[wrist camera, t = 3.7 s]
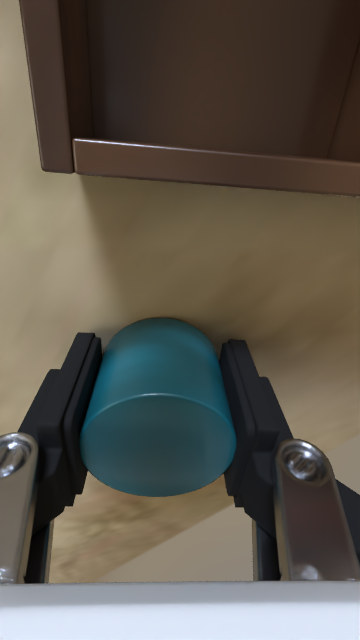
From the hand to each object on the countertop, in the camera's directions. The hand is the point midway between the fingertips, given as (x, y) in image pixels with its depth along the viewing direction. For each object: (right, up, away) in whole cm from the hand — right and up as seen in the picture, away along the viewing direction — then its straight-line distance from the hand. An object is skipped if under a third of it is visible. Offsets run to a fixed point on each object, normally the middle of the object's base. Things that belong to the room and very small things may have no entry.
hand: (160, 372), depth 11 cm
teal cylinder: (0, 0, 0) cm, 0 cm away
